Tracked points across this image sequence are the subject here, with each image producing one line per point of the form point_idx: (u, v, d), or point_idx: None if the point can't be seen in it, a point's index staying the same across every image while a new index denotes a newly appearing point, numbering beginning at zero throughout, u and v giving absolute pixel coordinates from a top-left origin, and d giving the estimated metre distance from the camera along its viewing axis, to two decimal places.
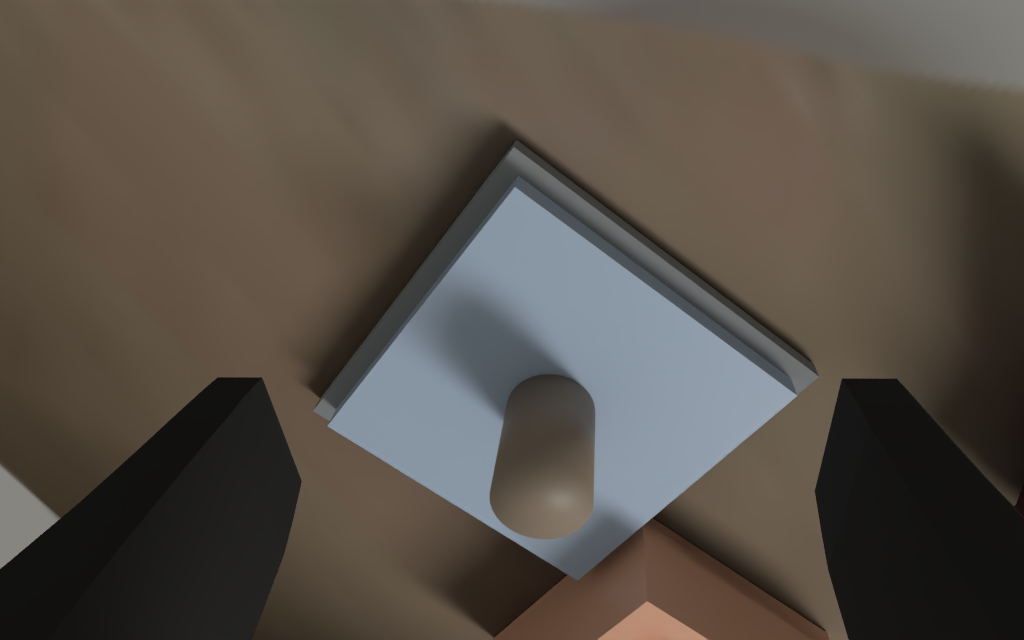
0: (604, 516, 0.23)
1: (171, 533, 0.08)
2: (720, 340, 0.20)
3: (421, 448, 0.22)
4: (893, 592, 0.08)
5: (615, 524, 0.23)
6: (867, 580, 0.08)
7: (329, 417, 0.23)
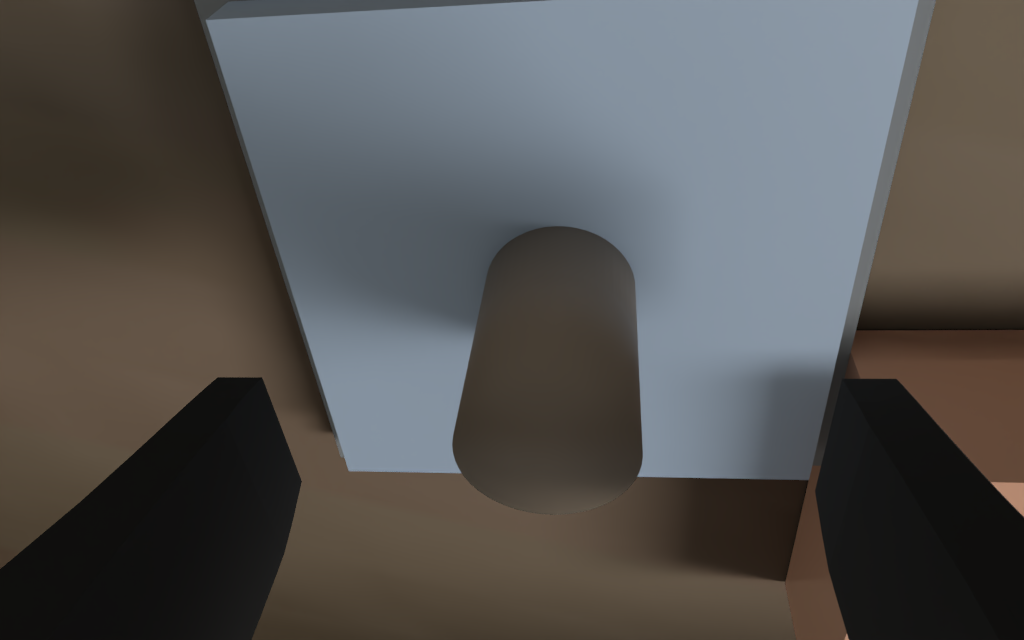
0: (767, 379, 0.13)
1: (171, 533, 0.08)
2: None
3: None
4: (893, 592, 0.08)
5: (793, 380, 0.13)
6: (867, 580, 0.08)
7: None
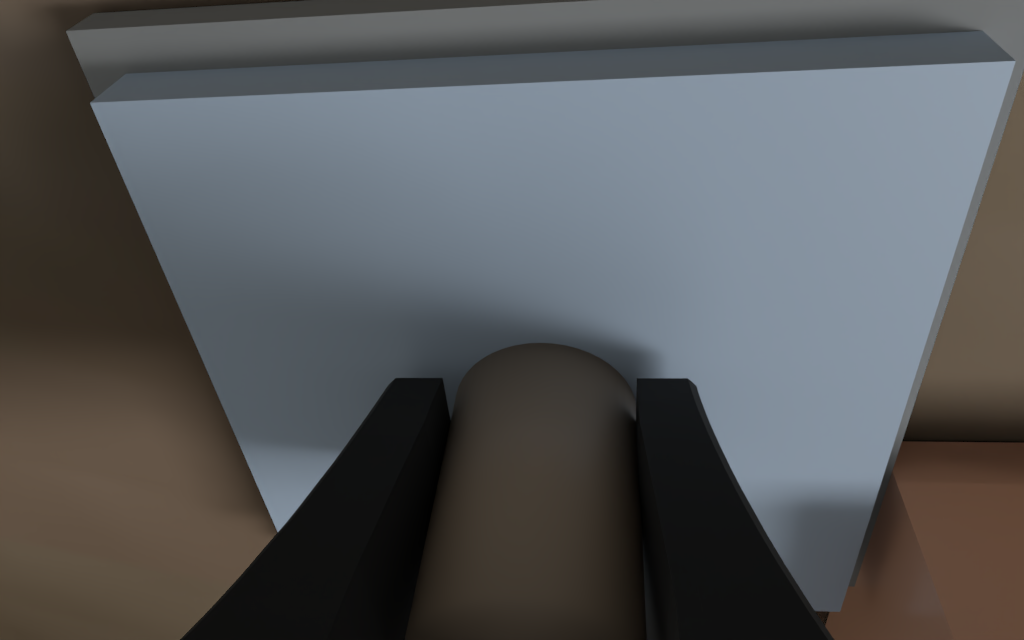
0: (795, 509, 0.11)
1: (391, 539, 0.08)
2: (719, 77, 0.07)
3: None
4: (653, 584, 0.08)
5: (826, 511, 0.11)
6: (646, 573, 0.09)
7: None
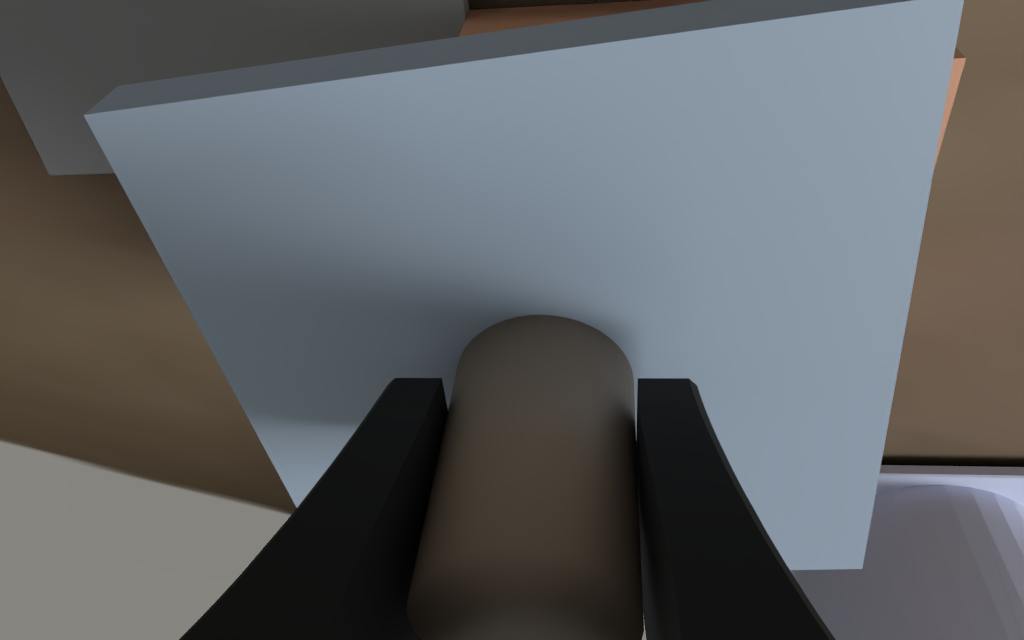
0: (803, 466, 0.11)
1: (390, 539, 0.08)
2: (672, 37, 0.08)
3: None
4: (654, 584, 0.08)
5: (834, 466, 0.11)
6: (647, 573, 0.09)
7: (67, 169, 0.18)
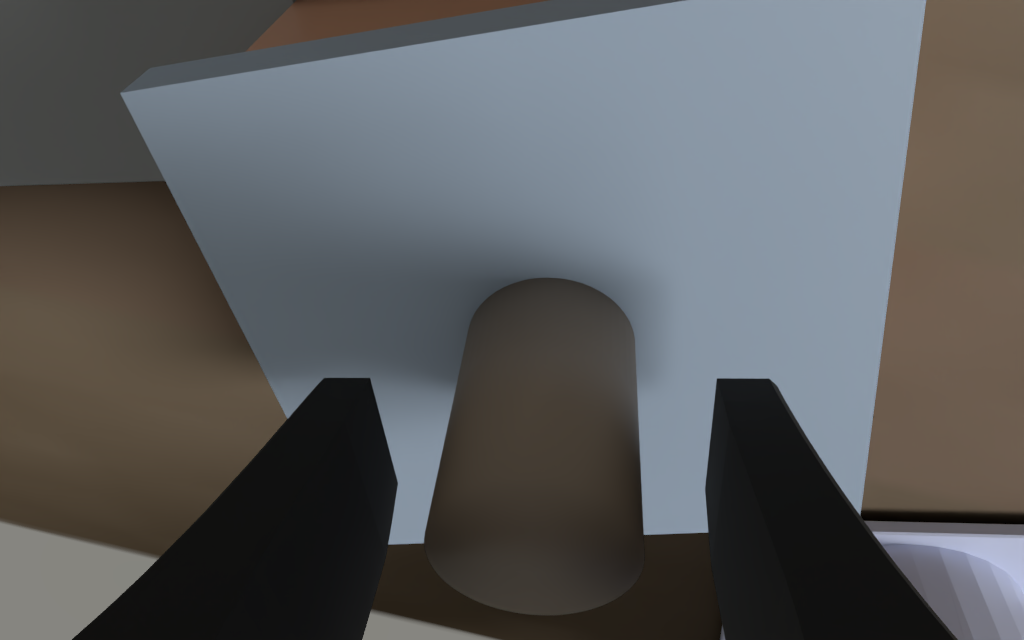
0: None
1: (302, 537, 0.08)
2: (662, 7, 0.08)
3: None
4: (747, 587, 0.08)
5: (828, 423, 0.12)
6: (733, 575, 0.09)
7: None
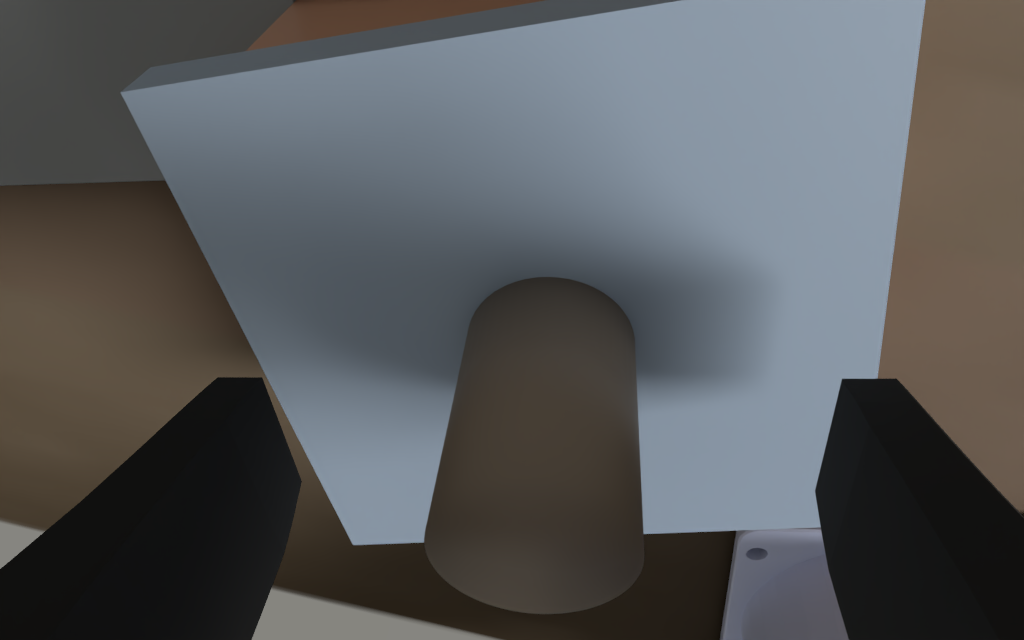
0: (798, 422, 0.12)
1: (171, 533, 0.08)
2: (662, 6, 0.08)
3: None
4: (893, 592, 0.08)
5: (828, 422, 0.12)
6: (867, 580, 0.08)
7: None
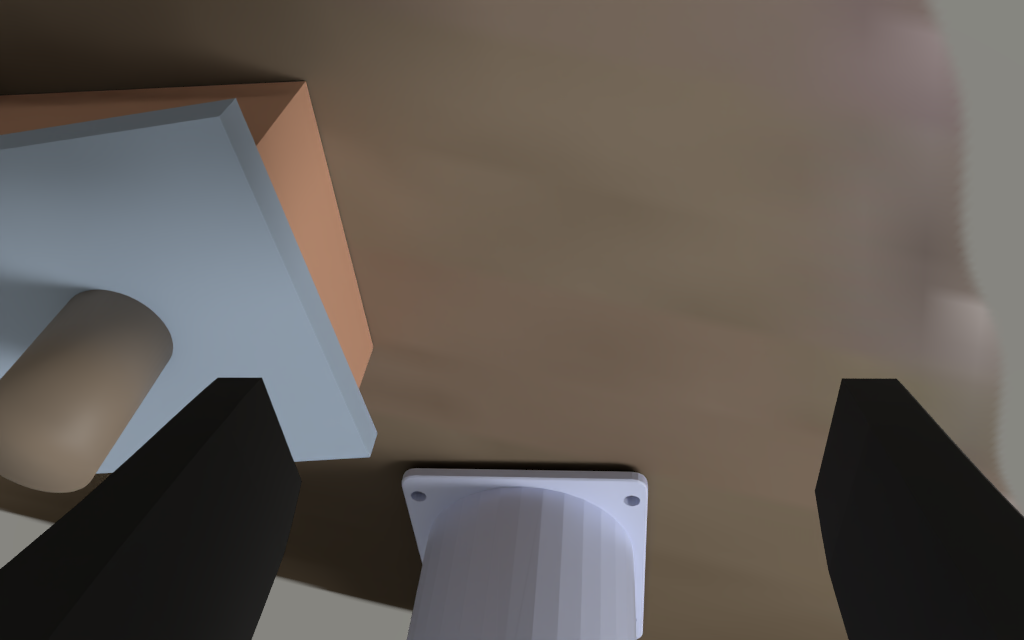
0: (293, 384, 0.18)
1: (171, 533, 0.08)
2: (92, 137, 0.14)
3: (115, 443, 0.20)
4: (893, 592, 0.08)
5: (311, 383, 0.18)
6: (867, 580, 0.08)
7: None
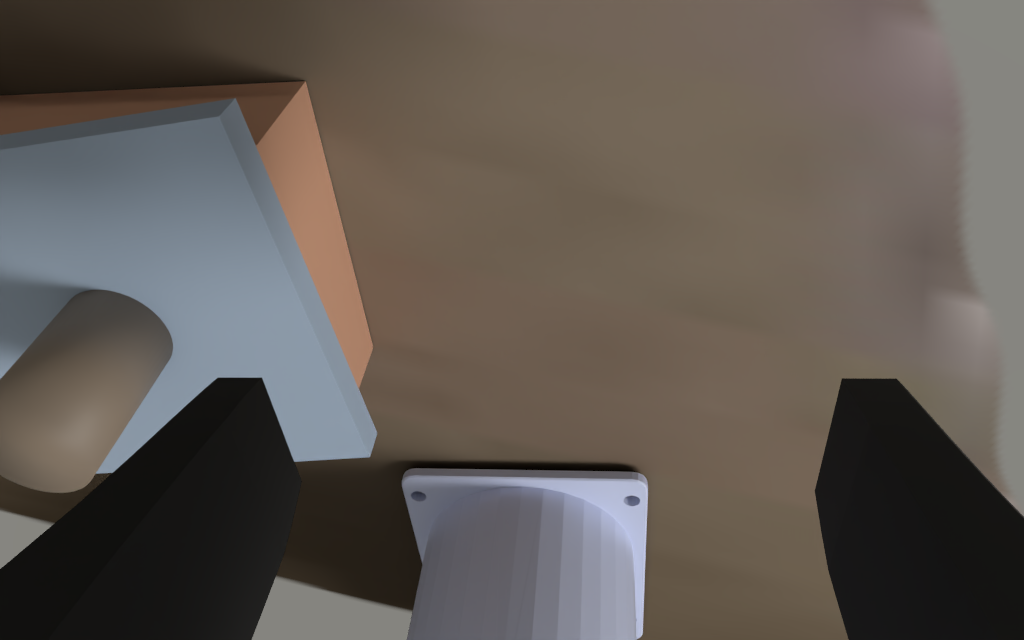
0: (293, 384, 0.18)
1: (171, 533, 0.08)
2: (91, 137, 0.14)
3: (115, 443, 0.20)
4: (893, 592, 0.08)
5: (311, 383, 0.18)
6: (867, 580, 0.08)
7: None
